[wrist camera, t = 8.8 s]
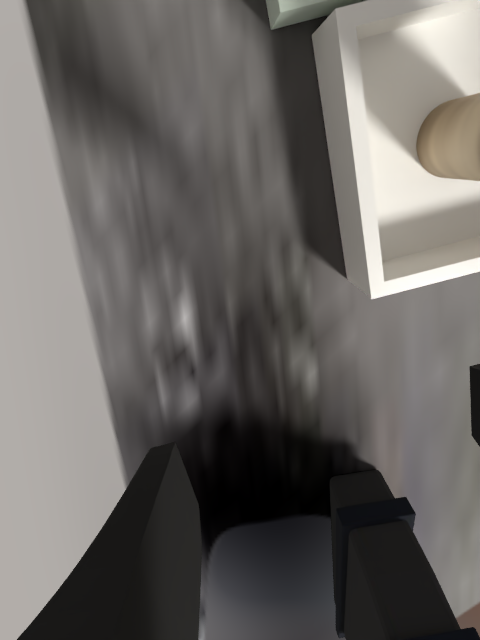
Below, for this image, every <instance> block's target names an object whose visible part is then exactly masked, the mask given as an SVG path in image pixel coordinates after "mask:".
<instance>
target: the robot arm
mask: <svg viewBox="0 0 480 640" xmlns="http://www.w3.org/2000/svg"><path fill="white" fill-rule="evenodd" d="M470 392H471V426H472V436H473V438H474V439H475V441H476V442H477V443H478V445H479V446H480V364H477V365H473V366H470ZM201 560H202V542H201V527H200V514H199V504H198V502H197V499H196V496H195V494H194V491H193V488H192V486H191V483H190V480H189V477H188V475H187V472H186V469H185V467H184V464H183V461H182V459H181V456H180V453H179V450H178V448H177V445H176V442H173V443H170V444H166V445H162V446H158V447H154V448H151V449H150V450H149V452H148V453H147V455H146V457H145V458H144V460H143V462H142V463H141V465H140V467H139V468H138V470H137V472H136V473H135V475H134V477H133V479H132V480H131V482H130V484H129V485H128V487H127V489H126V490H125V492H124V494H123V495H122V497H121V499H120V500H119V502H118V503H117V505H116V507H115V508H114V510H113V511H112V513H111V515H110V516H109V518H108V519H107V521H106V523H105V524H104V526H103V527H102V529H101V530H100V532H99V533H98V535H97V536H96V538H95V539H94V541H93V542H92V544H91V545H90V547H89V548H88V549H87V551H86V552H85V554H84V555H83V557H82V558H81V560H80V561H79V563H78V564H77V565H76V567H75V568H74V569H73V571H72V572H71V574H70V575H69V576H68V578H67V579H66V580H65V581H64V583H63V584H62V585H61V587H60V588H59V589H58V591H57V592H56V593H55V594H54V596H53V597H52V598H51V599H50V601H49V602H48V603H47V604H46V606H45V607H44V608H43V610H42V611H41V612H40V613H39V614H38V616H37V617H36V618H35V619H34V620H33V622H32V623H31V624H30V625H29V626H28V628H27V629H26V630H25V631H24V632H23V633H22V634H21V635H20V637H19V638H18V639H17V640H198V631H199V608H200V585H201Z"/></svg>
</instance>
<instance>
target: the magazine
mask: <svg viewBox="0 0 480 640" xmlns="http://www.w3.org/2000/svg"><path fill="white" fill-rule="evenodd" d="M330 505H331V529H332V554H333V579H334V600H335V604H336V631H337V635H338V637H339V638H343V637H345V638H346V640H480V637H479V635H478V633H477V631H476V629H475V628H473V627H472V628H466V629H460V627H459V625H458V622H457V620H456V618H455V616H454V614H453V612H452V610H451V608H450V605H449V603H448V601H447V599H446V597H445V595H444V593H443V590H442V588H441V586H440V584H439V582H438V580H437V578H436V576H435V573H434V571H433V569H432V567H431V566H430V564H429V562H428V560H427V558H426V556H425V554H424V552H423V550H422V548H421V546H420V544H419V543H418V541H417V539H416V537H415V535H414V533H413V527H414V521H415V515H416V514H415V512H414V510H413V508H412V506H411V505H410V503H409V501H408V500H407V498H406V497H402V498H396V499H395V498H394V496H393V494H392V493H391V491H390V489H389V487H388V485H387V483H386V482H385V480H384V478H383V476H382V474H381V472H379V471H378V470H370V471H364V472H358V473H351V474H345V475H339V476H334V477H332V478H331V479H330Z"/></svg>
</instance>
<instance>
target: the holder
mask: <svg viewBox="0 0 480 640" xmlns="http://www.w3.org/2000/svg"><path fill="white" fill-rule="evenodd" d="M363 1H367V0H266V5H267V11H268V16H269V22H270V28H271V30H273V29H277V28H281V27H285V26H288V25H292V24H296V23H300V22H304V21H308V20H311V19H315V18H319V17H323V16H327V15H330V14H331V13H332V12H333V11H334V10H335V9H336V8H340V7H344V6H348V5H352V4H356V3H359V2H363Z"/></svg>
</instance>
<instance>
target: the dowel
mask: <svg viewBox="0 0 480 640" xmlns="http://www.w3.org/2000/svg"><path fill="white" fill-rule="evenodd" d="M416 149H417V155H418V159H419V161H420V163H421V165H422V166H423V168H424V169H425V170H426V171H427V172H429V173H430V174H432V175H434V176H436V177H440V178H450V179H462V180H473V181H480V93H477V94H473V95H469V96H465V97H461V98H457V99H453V100H449V101H447V102H444V103H442V104H440V105H439V106H437V107H436V108H435V109H433V110H432V111H431V112H430V113H429V114H428V116H427V117H426V118H425V120H424V121H423V123H422V125H421V127H420V129H419V132H418V136H417V143H416Z"/></svg>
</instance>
